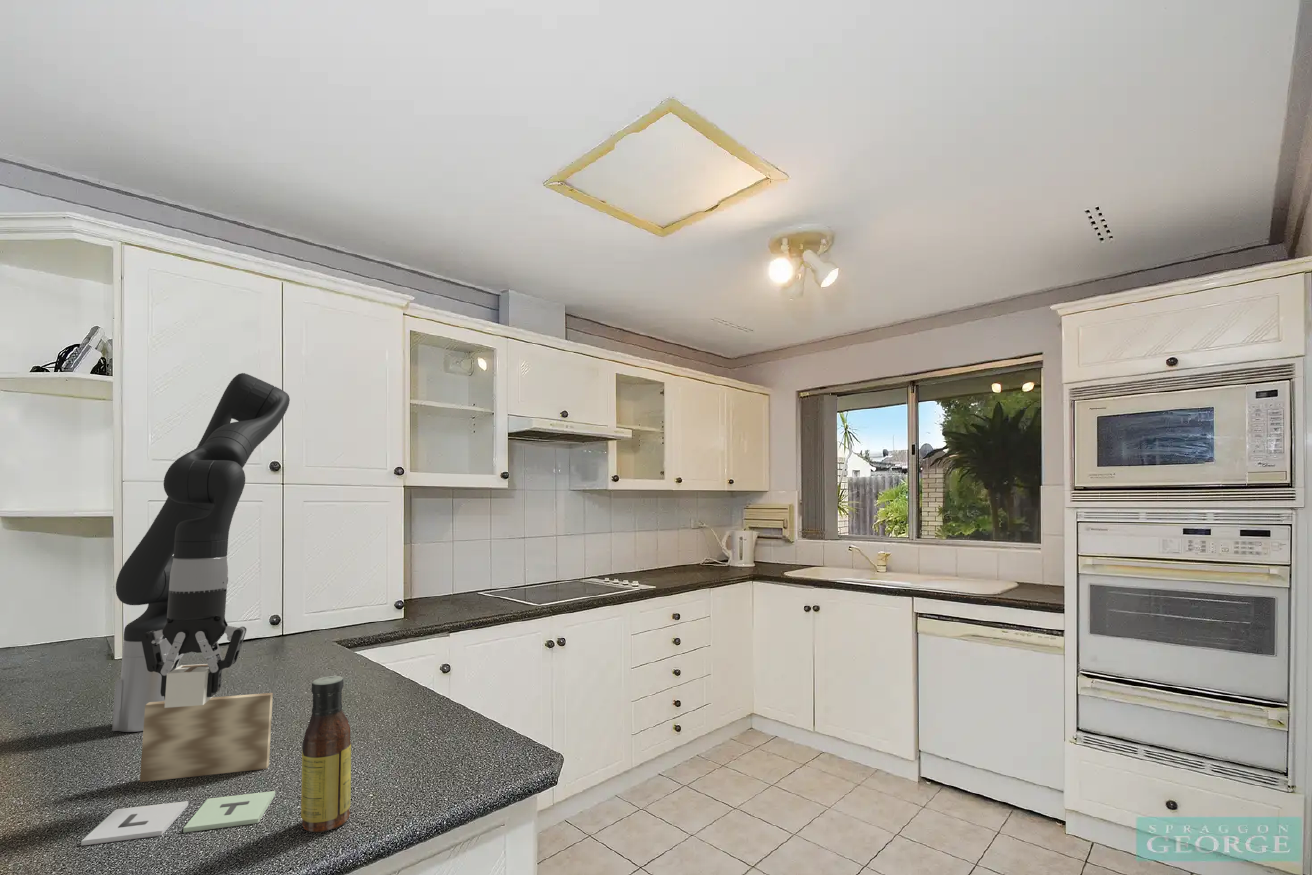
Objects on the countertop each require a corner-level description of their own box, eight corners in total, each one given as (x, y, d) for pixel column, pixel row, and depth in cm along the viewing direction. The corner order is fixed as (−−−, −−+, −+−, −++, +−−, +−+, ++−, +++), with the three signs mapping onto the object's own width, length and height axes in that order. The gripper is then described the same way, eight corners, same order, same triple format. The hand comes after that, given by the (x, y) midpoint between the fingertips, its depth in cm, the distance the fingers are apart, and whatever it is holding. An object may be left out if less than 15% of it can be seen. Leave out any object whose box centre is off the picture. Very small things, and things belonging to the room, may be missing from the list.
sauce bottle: (335, 808, 95) (341, 669, 97) (359, 820, 92) (364, 676, 94) (289, 827, 90) (296, 680, 92) (312, 841, 86) (319, 687, 88)
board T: (183, 832, 89) (183, 827, 89) (207, 802, 97) (207, 797, 97) (257, 823, 91) (258, 817, 91) (275, 794, 100) (275, 790, 100)
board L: (80, 845, 85) (81, 839, 85) (115, 813, 94) (116, 808, 94) (161, 835, 88) (161, 829, 88) (188, 805, 96) (188, 800, 96)
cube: (164, 707, 98) (166, 673, 98) (178, 697, 103) (180, 664, 103) (202, 705, 99) (205, 670, 100) (214, 695, 104) (216, 662, 104)
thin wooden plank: (139, 782, 104) (145, 704, 105) (144, 778, 106) (149, 702, 107) (266, 768, 109) (270, 695, 110) (269, 765, 111) (272, 692, 112)
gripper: (133, 591, 97) (123, 708, 95) (242, 587, 101) (235, 700, 99) (156, 584, 104) (147, 693, 102) (257, 581, 108) (250, 686, 107)
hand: (190, 696), depth 101 cm, fingers closed on cube, 5 cm apart
